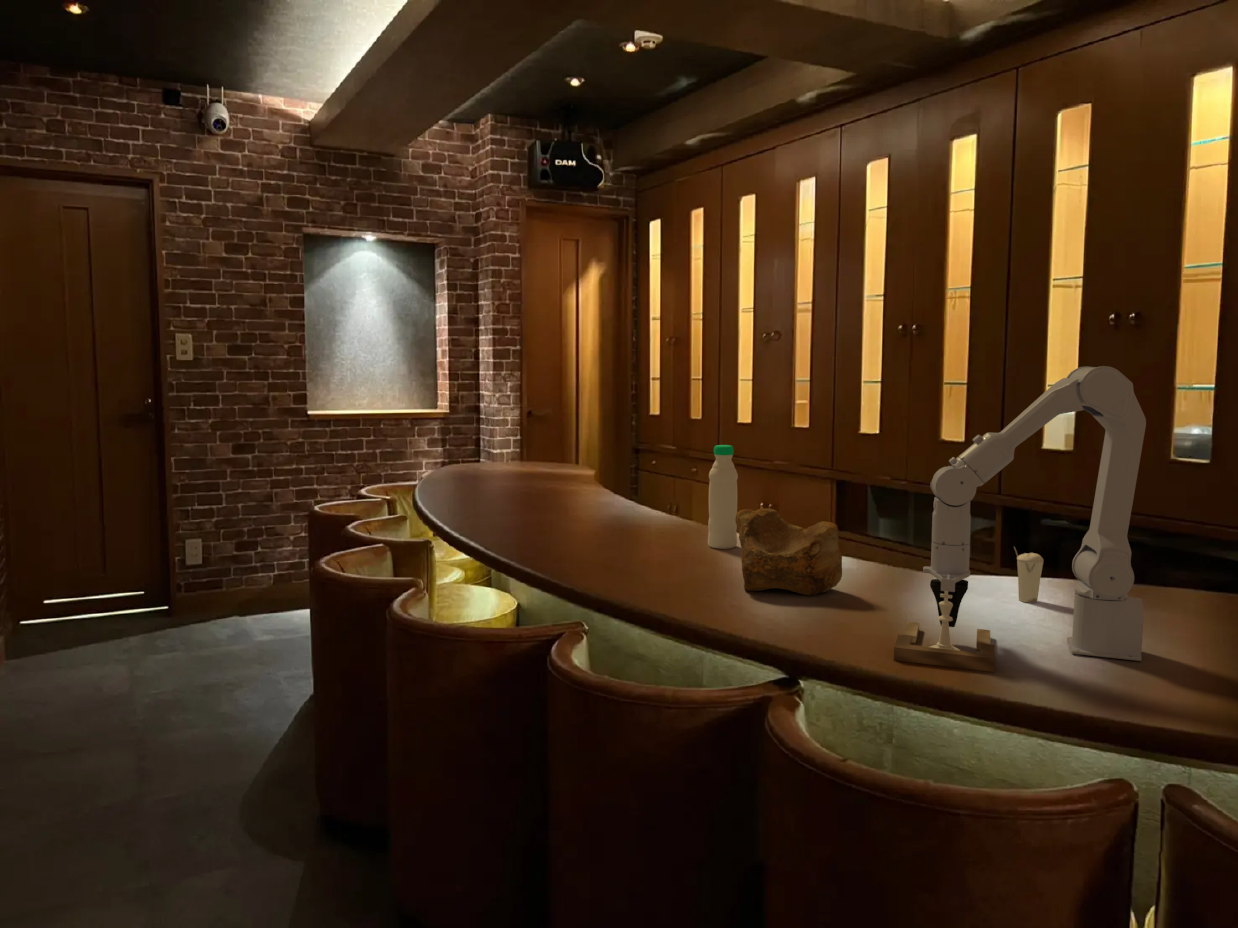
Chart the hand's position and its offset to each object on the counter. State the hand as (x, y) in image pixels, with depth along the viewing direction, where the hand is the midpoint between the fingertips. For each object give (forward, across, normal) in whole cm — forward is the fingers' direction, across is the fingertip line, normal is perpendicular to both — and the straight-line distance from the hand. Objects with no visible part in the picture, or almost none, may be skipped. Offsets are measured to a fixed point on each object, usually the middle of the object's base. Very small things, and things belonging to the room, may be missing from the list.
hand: (947, 625), depth 144 cm
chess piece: (+3, +7, 0) cm, 8 cm away
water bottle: (+2, -61, -54) cm, 82 cm away
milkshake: (+3, -33, +13) cm, 36 cm away
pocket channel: (+3, -1, 0) cm, 3 cm away
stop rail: (+3, +10, 0) cm, 10 cm away
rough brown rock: (+3, -24, -33) cm, 41 cm away
